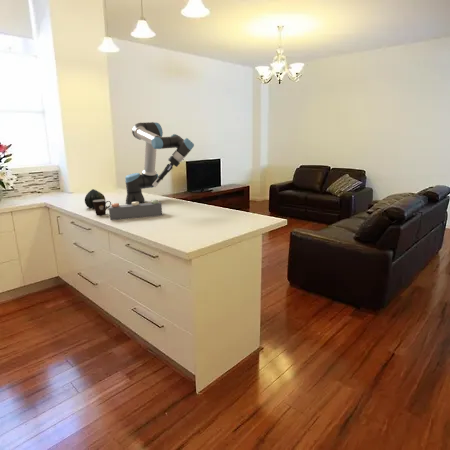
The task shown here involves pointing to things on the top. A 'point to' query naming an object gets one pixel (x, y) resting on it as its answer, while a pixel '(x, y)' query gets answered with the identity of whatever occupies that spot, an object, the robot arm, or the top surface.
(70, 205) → the top surface
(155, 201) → the button sage
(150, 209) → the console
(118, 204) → the button terracotta
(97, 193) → the squash
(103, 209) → the coffee mug
